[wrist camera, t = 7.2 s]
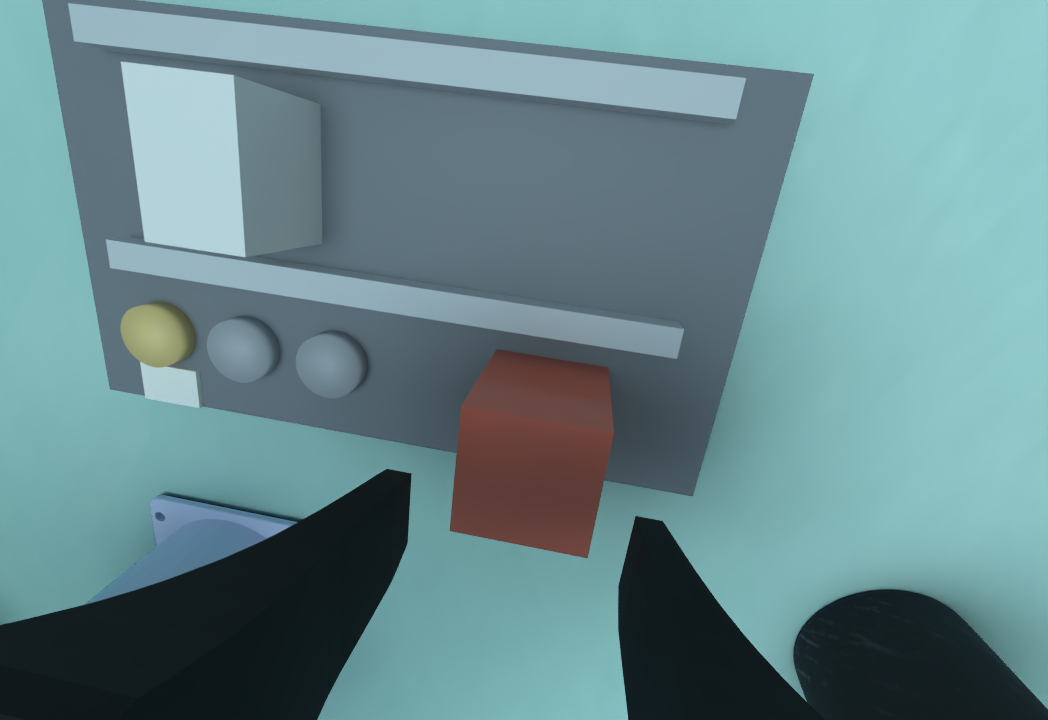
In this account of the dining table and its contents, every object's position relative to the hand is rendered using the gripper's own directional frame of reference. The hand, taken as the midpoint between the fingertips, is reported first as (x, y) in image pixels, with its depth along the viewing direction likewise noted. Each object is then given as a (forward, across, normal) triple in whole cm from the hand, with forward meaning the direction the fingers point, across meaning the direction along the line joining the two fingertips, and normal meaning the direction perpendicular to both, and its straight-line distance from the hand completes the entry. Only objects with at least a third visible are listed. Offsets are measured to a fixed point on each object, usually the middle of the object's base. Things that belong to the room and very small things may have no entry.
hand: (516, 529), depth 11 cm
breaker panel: (+8, +6, -4) cm, 11 cm away
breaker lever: (+7, +10, -7) cm, 14 cm away
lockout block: (+7, 0, 0) cm, 7 cm away
